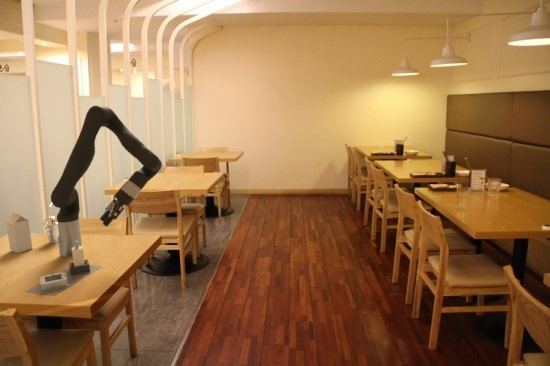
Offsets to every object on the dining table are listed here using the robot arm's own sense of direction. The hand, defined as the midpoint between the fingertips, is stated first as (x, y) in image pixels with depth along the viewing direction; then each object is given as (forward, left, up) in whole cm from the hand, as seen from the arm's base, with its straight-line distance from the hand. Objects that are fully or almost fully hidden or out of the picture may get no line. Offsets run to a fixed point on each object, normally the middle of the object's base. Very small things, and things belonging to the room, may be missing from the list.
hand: (103, 222), depth 180 cm
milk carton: (-58, +12, -21) cm, 63 cm away
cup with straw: (-51, +26, -21) cm, 61 cm away
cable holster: (-8, -7, -19) cm, 22 cm away
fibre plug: (-8, -7, -19) cm, 22 cm away
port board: (-8, -15, -21) cm, 27 cm away
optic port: (-8, -22, -19) cm, 30 cm away
